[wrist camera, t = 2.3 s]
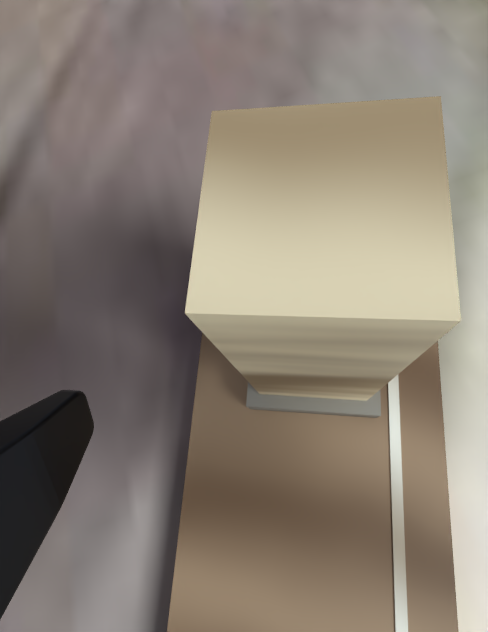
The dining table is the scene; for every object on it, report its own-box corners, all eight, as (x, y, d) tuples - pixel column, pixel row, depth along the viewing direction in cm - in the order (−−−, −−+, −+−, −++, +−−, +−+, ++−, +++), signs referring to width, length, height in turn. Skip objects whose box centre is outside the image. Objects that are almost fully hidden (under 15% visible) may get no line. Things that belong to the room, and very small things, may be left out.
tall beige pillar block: (375, 418, 16) (505, 358, 5) (250, 409, 16) (149, 343, 6) (373, 299, 17) (469, 71, 7) (258, 296, 18) (189, 92, 8)
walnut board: (468, 1007, 12) (491, 1088, 10) (146, 908, 13) (126, 965, 12) (422, 263, 19) (431, 247, 17) (218, 262, 21) (211, 248, 19)
